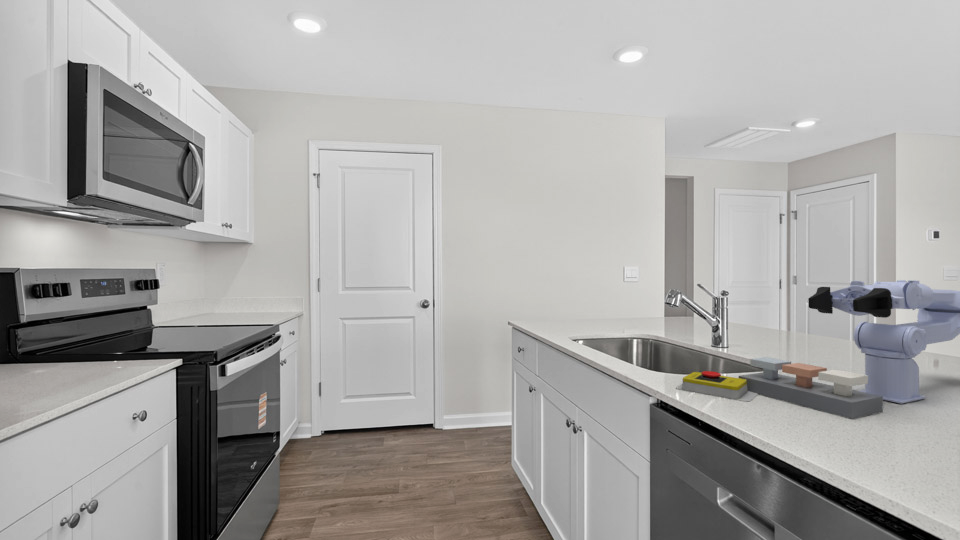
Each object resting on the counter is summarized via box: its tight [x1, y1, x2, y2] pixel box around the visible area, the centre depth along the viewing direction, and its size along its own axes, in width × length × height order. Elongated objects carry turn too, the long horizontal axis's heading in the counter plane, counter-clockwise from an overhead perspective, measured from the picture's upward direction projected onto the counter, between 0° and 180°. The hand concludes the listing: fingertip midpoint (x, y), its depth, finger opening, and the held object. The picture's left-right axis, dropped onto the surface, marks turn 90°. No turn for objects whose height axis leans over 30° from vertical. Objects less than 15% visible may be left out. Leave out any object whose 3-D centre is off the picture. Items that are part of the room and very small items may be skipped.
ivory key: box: [817, 369, 868, 396], centre depth 85 cm, size 6×6×4 cm
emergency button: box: [675, 370, 759, 403], centre depth 98 cm, size 9×4×15 cm
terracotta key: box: [781, 362, 828, 387], centre depth 91 cm, size 6×6×4 cm
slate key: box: [750, 356, 792, 380], centre depth 98 cm, size 6×6×4 cm
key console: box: [738, 372, 884, 420], centre depth 91 cm, size 10×22×3 cm, turn 23°
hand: (831, 304), depth 85 cm, fingers open, 7 cm apart
